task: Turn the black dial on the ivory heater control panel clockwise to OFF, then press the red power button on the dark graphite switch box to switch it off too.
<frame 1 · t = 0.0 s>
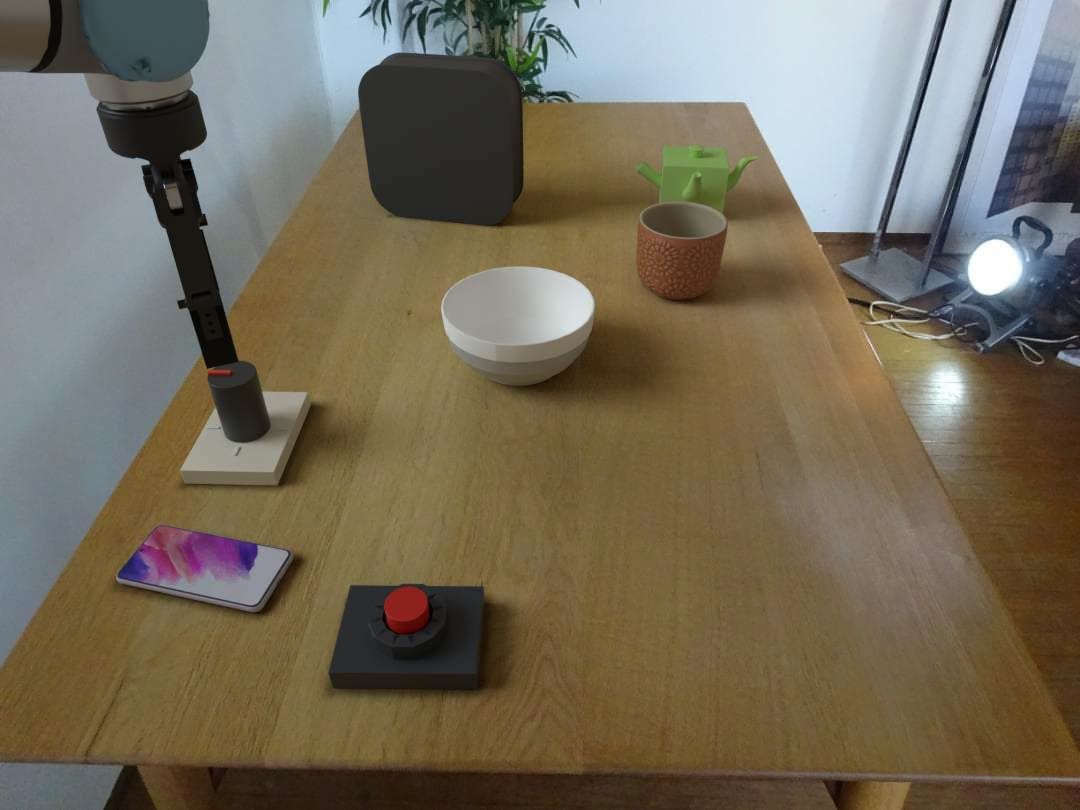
hand: (213, 326, 76), 19 cm above the table, tool pointing down, fingers open, 13 cm apart
power button: (407, 610, 67), point 4 cm above the table, slide at 0.1 cm
bowl: (519, 362, 104), on the table
speaker: (450, 211, 141), on the table
switch box: (412, 642, 70), on the table
dial: (239, 400, 88), point 6 cm above the table, hinge at 90.0°
smartphone: (208, 570, 77), on the table
kettle: (690, 212, 140), on the table
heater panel: (251, 442, 91), on the table
planter: (675, 289, 119), on the table
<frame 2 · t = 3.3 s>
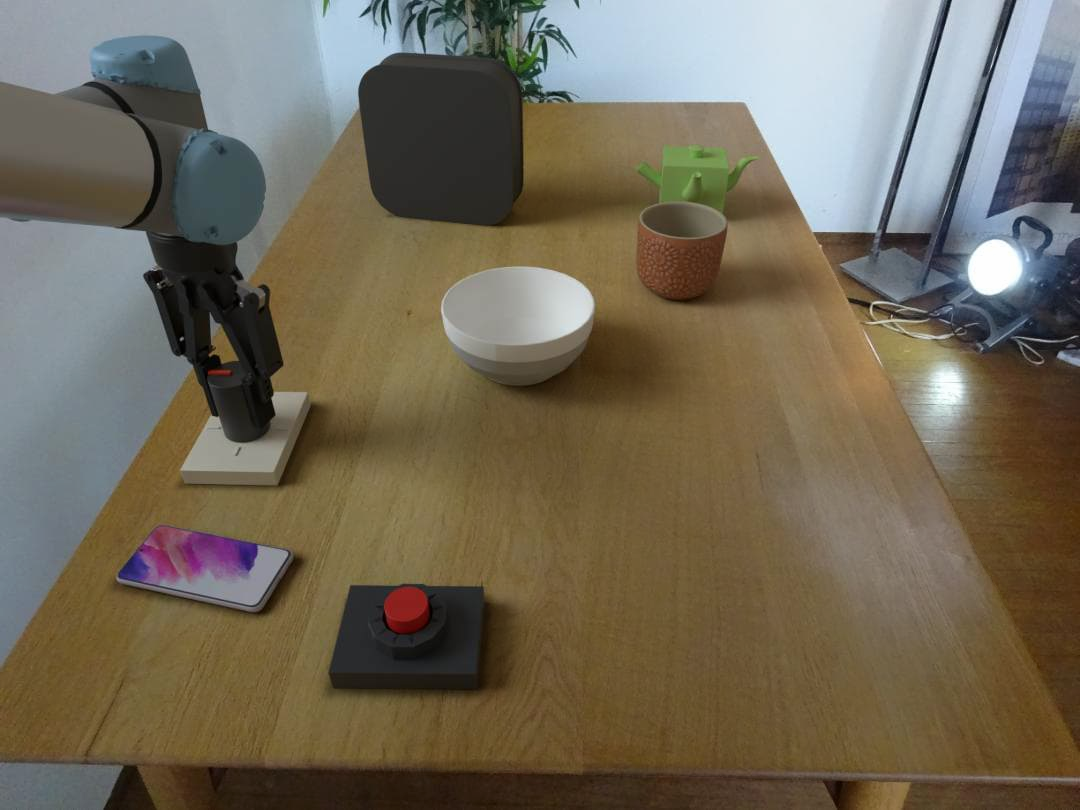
hand: (243, 415, 89), 4 cm above the table, tool pointing down, fingers closed on dial, 5 cm apart
dial: (239, 400, 88), point 6 cm above the table, hinge at 89.9°, touching gripper
everything else where it was.
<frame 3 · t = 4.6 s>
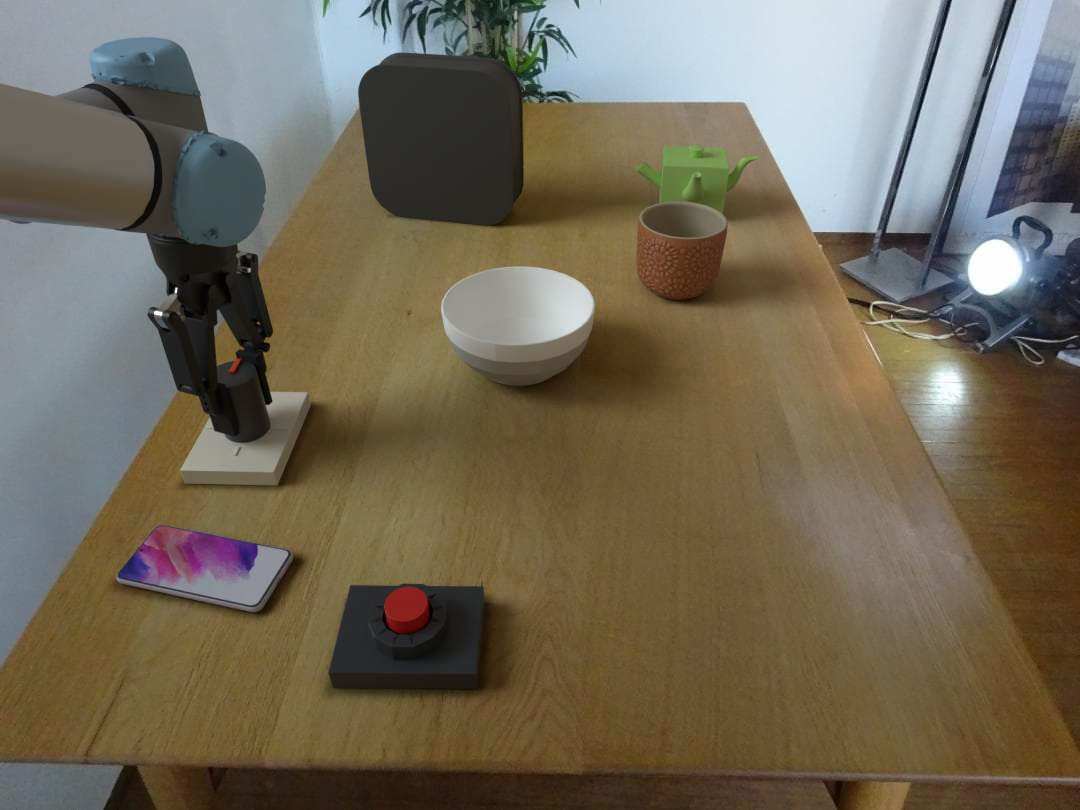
hand: (244, 415, 89), 4 cm above the table, tool pointing down, fingers open, 5 cm apart
dial: (239, 400, 88), point 6 cm above the table, hinge at 0.0°
everything else where it was.
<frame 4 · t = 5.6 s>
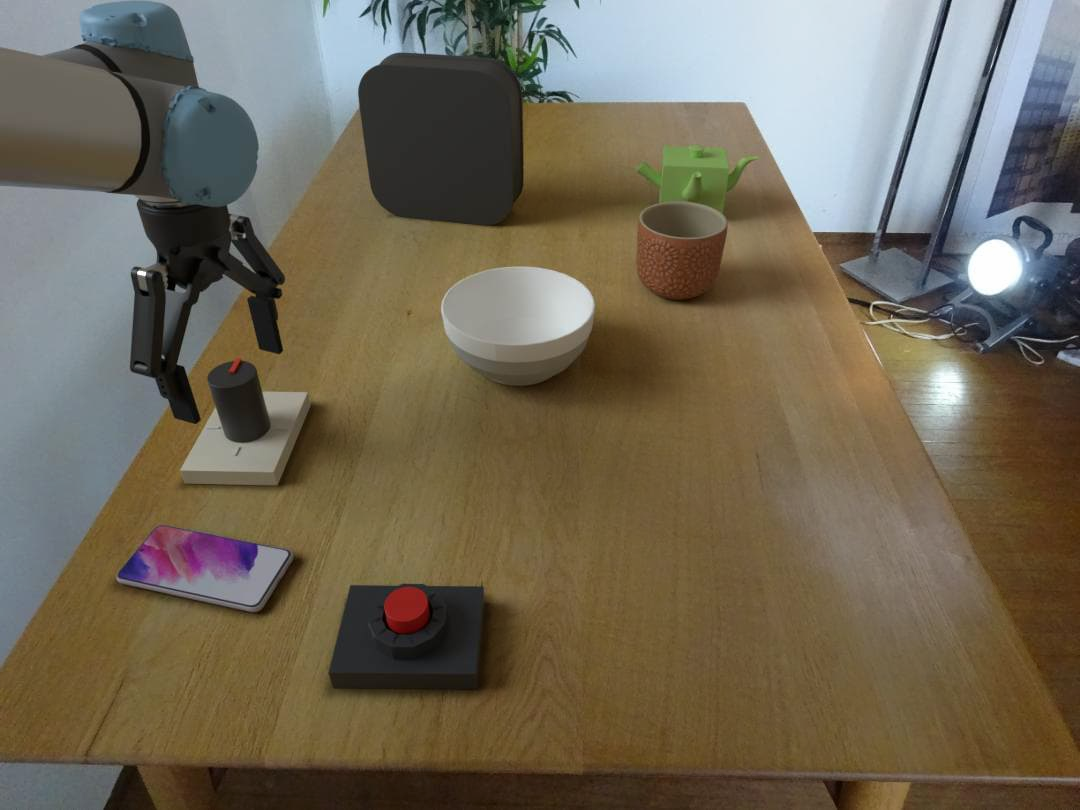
hand: (232, 382, 86), 9 cm above the table, tool pointing down, fingers open, 13 cm apart
nothing on the table moved.
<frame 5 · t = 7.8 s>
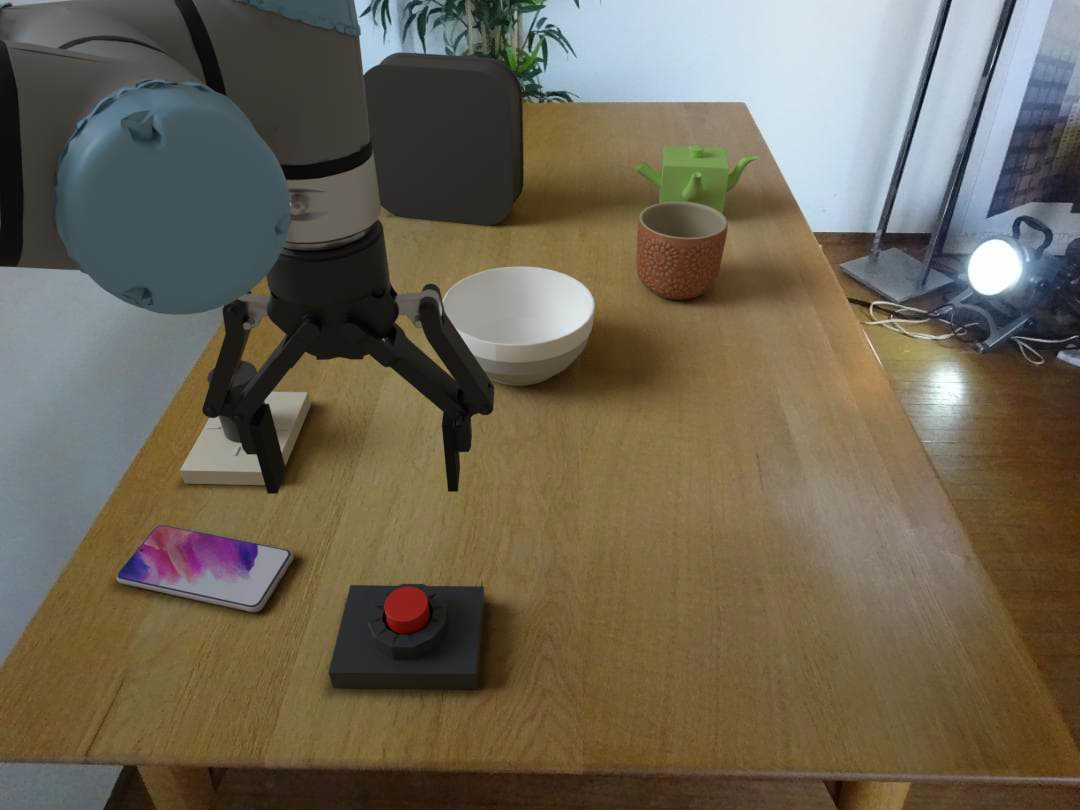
hand: (365, 480, 62), 17 cm above the table, tool pointing down, fingers open, 13 cm apart
nothing on the table moved.
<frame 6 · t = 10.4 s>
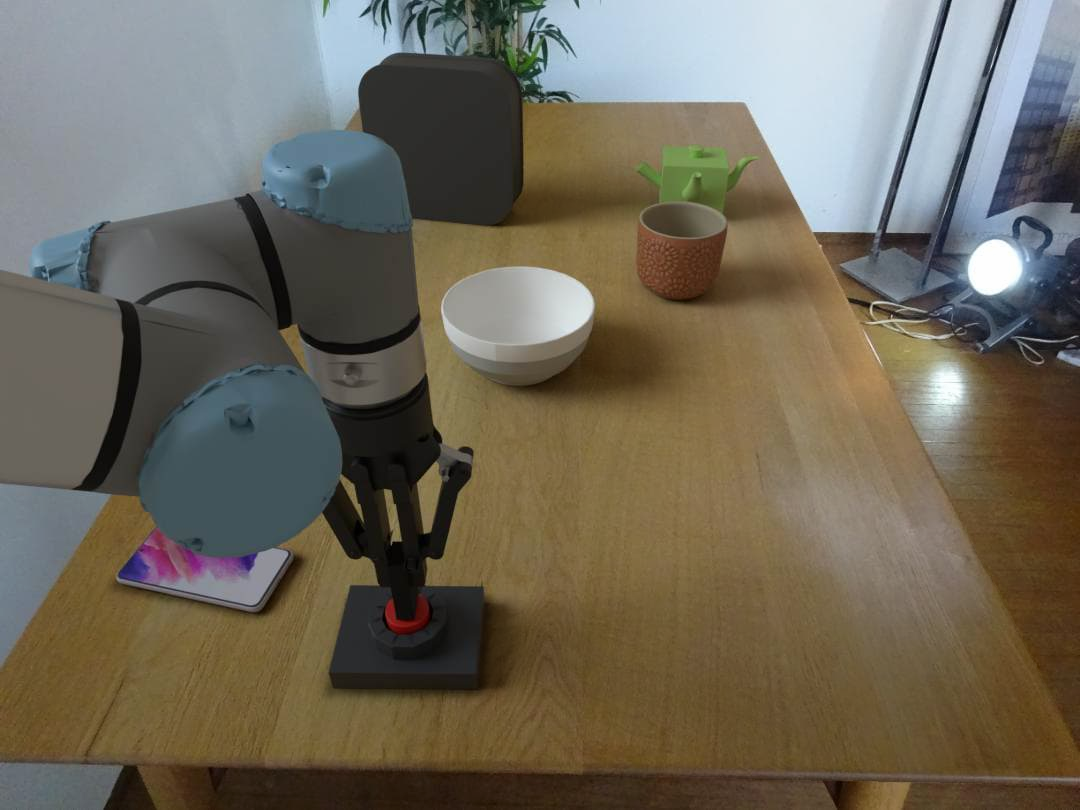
hand: (407, 606, 67), 5 cm above the table, tool pointing down, fingers closed
power button: (408, 615, 68), point 4 cm above the table, slide at -0.6 cm, touching gripper
everything else where it was.
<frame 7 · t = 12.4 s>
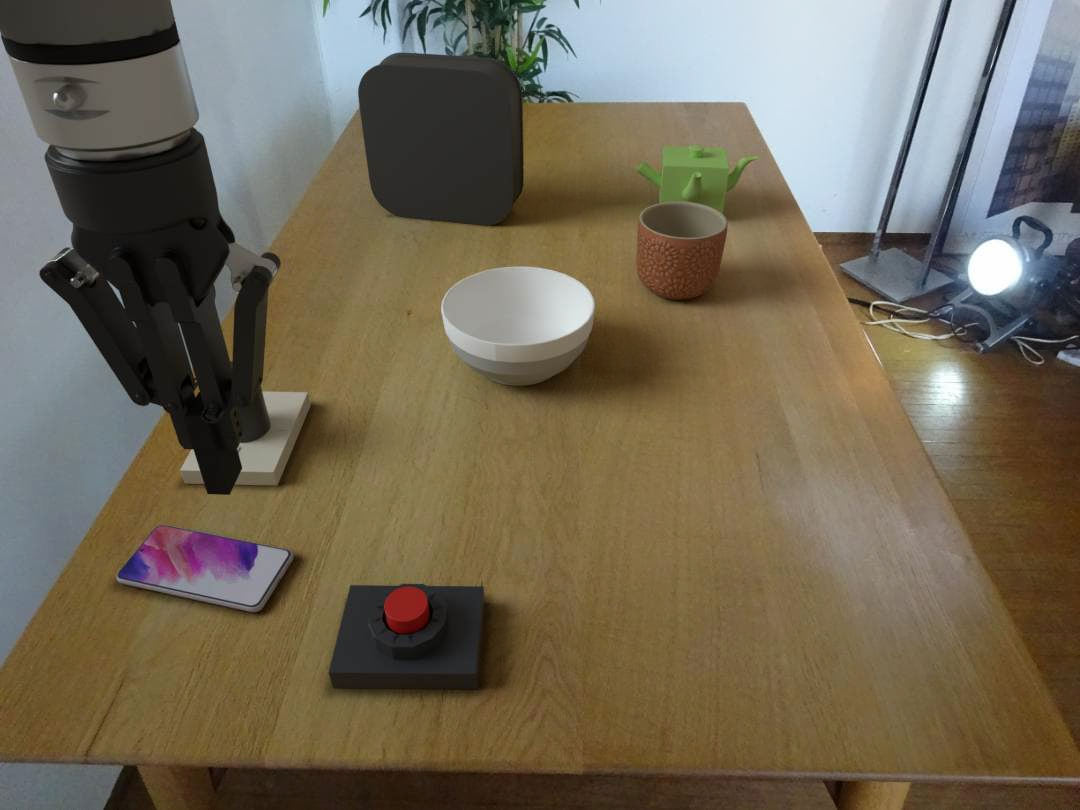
hand: (225, 480, 55), 22 cm above the table, tool pointing down, fingers closed
power button: (407, 610, 67), point 4 cm above the table, slide at 0.1 cm
everything else where it was.
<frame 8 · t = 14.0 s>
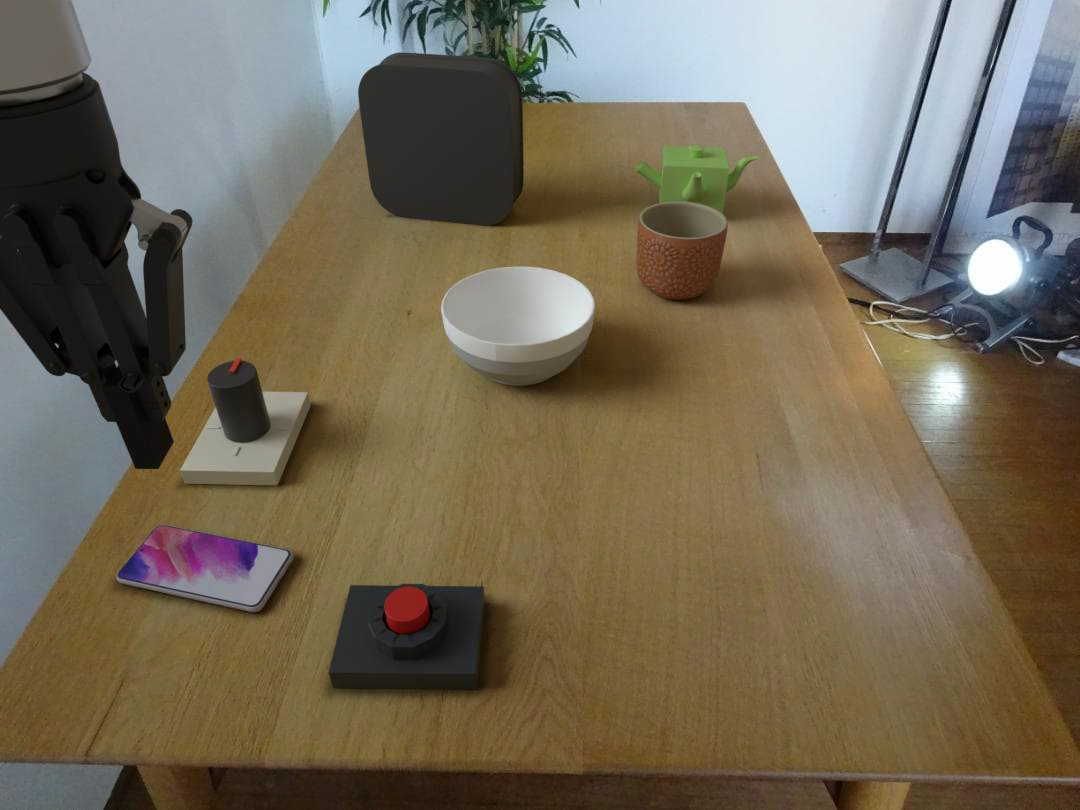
hand: (155, 454, 53), 24 cm above the table, tool pointing down, fingers closed
nothing on the table moved.
at the end: dial at +0° (first picture: +90°); power button pushed in 1.0 cm at the most during the clip, back to where it started at the end; power button slide at 0.1 cm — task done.
